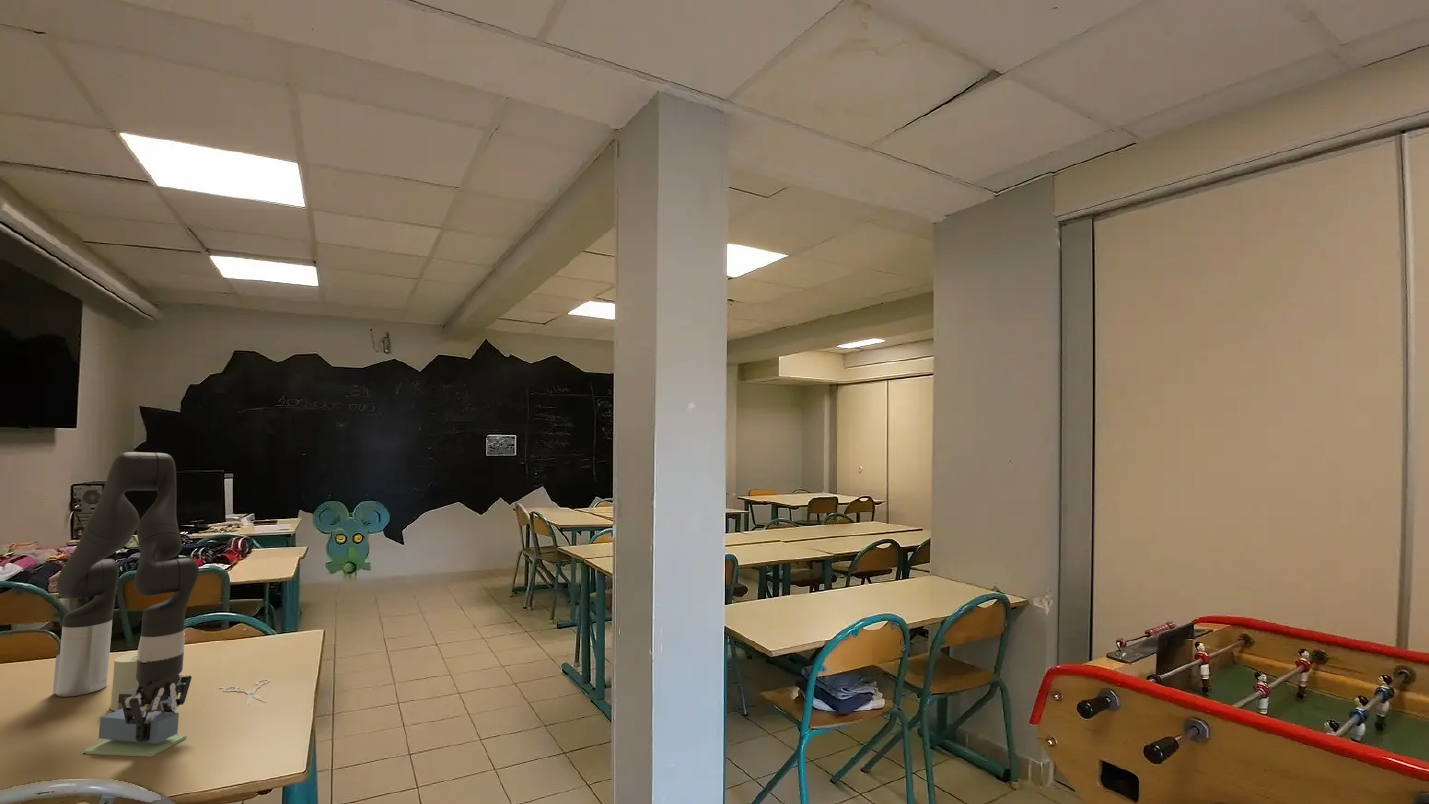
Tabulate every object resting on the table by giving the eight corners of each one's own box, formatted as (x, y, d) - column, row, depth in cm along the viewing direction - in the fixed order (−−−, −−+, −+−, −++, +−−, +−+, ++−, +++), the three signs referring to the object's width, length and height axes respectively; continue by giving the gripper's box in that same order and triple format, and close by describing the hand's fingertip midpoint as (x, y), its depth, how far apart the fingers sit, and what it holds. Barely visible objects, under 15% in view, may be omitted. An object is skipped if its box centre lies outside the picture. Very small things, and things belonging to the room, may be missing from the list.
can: (102, 714, 146) (107, 662, 147) (118, 699, 154) (122, 650, 155) (153, 707, 151) (157, 656, 151) (165, 693, 159) (169, 645, 160)
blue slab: (98, 738, 131) (100, 717, 131) (120, 729, 135) (122, 708, 135) (156, 743, 129) (158, 721, 129) (177, 733, 133) (178, 712, 134)
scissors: (267, 677, 170) (283, 697, 156) (267, 679, 170) (282, 701, 156) (218, 687, 163) (230, 710, 149) (218, 690, 162) (230, 713, 148)
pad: (82, 753, 128) (83, 750, 128) (121, 735, 136) (122, 732, 136) (151, 756, 127) (151, 753, 127) (186, 738, 135) (186, 735, 135)
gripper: (175, 642, 140) (169, 719, 139) (110, 664, 126) (103, 751, 125) (206, 643, 140) (200, 721, 138) (145, 666, 125) (138, 752, 124)
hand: (154, 734), depth 131 cm, fingers closed on blue slab, 4 cm apart
